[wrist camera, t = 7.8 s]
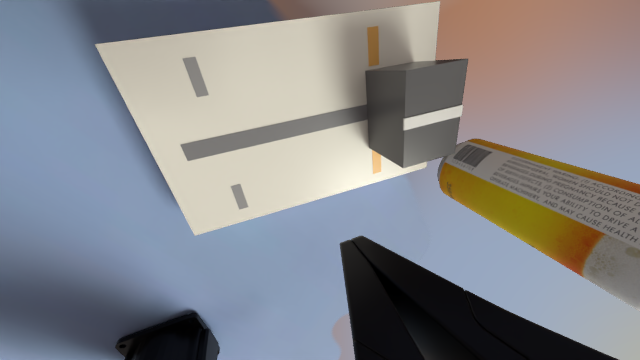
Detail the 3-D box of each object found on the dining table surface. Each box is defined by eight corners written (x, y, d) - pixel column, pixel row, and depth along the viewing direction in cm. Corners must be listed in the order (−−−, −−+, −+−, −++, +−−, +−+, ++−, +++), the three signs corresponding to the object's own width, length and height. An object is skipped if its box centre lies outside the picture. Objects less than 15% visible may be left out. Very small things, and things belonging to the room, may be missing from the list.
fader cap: (368, 147, 16) (402, 168, 13) (364, 71, 14) (405, 70, 10) (412, 136, 17) (456, 153, 13) (415, 61, 15) (470, 58, 11)
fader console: (200, 215, 17) (194, 235, 15) (119, 48, 12) (94, 44, 10) (408, 157, 21) (426, 167, 19) (413, 10, 16) (440, 1, 14)
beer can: (450, 201, 25) (673, 341, 12) (422, 174, 22) (676, 318, 9) (491, 158, 24) (779, 259, 11) (467, 123, 21) (820, 205, 8)
